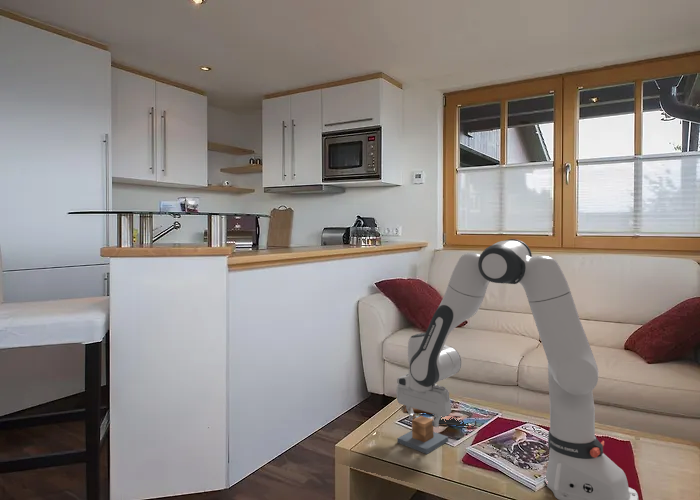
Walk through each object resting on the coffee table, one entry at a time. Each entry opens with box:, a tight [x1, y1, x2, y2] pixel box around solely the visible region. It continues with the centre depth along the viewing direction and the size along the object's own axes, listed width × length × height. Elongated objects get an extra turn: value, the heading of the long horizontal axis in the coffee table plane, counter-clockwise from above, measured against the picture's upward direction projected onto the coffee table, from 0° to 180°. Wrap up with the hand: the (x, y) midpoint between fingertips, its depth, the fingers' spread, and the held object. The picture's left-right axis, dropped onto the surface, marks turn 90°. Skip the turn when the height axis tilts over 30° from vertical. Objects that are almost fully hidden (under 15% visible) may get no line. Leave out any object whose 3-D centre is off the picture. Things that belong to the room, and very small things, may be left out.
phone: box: [433, 414, 478, 427], centre depth 173 cm, size 8×1×15 cm
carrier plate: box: [396, 430, 449, 455], centre depth 158 cm, size 12×12×4 cm
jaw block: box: [411, 415, 434, 442], centre depth 158 cm, size 5×5×6 cm
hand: (423, 422), depth 158 cm, fingers open, 8 cm apart
